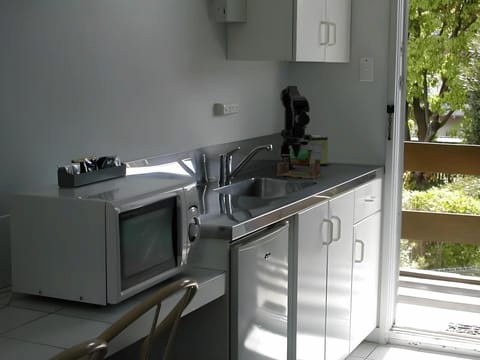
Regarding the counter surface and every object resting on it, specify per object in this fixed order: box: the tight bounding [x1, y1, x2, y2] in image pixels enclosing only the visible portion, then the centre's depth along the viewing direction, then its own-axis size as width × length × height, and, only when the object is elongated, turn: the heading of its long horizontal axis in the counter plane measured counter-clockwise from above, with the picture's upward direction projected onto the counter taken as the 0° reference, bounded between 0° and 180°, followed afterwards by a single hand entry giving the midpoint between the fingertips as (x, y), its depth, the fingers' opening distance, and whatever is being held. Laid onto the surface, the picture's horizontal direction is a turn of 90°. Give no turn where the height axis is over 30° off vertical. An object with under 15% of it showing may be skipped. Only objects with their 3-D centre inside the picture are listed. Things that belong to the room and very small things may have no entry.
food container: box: [289, 145, 313, 168], centre depth 349 cm, size 12×6×10 cm, turn 62°
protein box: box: [307, 134, 329, 167], centre depth 391 cm, size 10×16×16 cm
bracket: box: [275, 157, 322, 179], centre depth 351 cm, size 10×19×8 cm, turn 62°
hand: (298, 156), depth 350 cm, fingers closed on food container, 6 cm apart
